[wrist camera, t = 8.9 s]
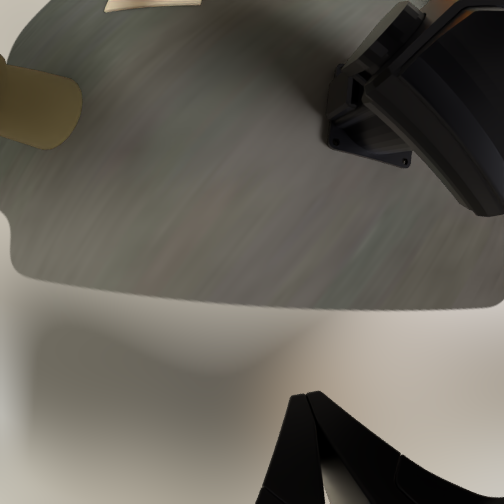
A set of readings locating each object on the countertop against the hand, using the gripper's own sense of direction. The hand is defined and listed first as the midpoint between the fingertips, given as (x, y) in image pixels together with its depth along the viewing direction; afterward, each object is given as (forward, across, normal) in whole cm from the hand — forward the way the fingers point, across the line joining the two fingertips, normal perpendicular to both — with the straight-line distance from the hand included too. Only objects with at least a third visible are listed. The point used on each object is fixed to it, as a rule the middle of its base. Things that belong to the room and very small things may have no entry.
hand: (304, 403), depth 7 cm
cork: (+13, +15, -14) cm, 24 cm away
